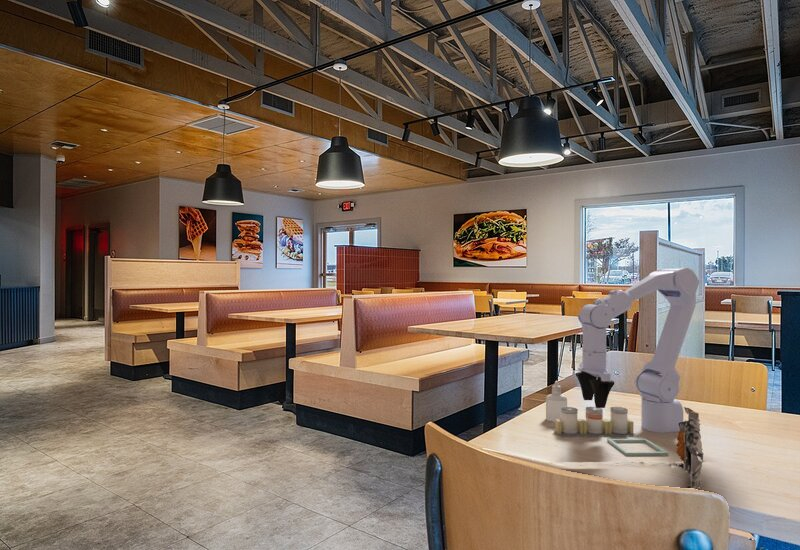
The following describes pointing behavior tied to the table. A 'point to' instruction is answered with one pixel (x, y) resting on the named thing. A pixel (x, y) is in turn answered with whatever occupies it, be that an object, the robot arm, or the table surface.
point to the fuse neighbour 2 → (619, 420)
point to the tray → (659, 453)
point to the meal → (690, 447)
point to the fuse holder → (583, 433)
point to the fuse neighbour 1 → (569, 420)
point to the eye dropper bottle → (555, 403)
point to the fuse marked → (594, 420)
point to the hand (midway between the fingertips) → (593, 403)
